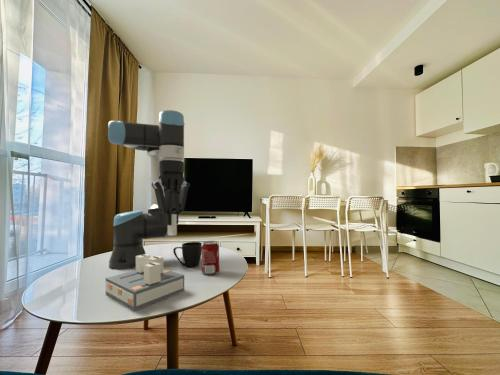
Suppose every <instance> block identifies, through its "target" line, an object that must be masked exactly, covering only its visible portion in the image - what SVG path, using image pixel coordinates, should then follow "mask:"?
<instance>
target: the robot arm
mask: <svg viewBox="0 0 500 375" xmlns="http://www.w3.org/2000/svg"><path fill="white" fill-rule="evenodd" d="M184 118H185V117H184V115H183V113H181V112H180V111H177V110H173V109H170V110H169V109H167V110H162V111H160V112H159V118H158V123H159V125H158V124H150V123H149V124H148V123H139V122H131V121H130V122H129V121H122V120H110V121H109V122H108V124H107V126H108V127H107V137H108V138H107V139H108V141H109V143H110V144H112V145H118V146H123V147H125V148H129V149H132V150H136V151H144V152H145V151H146V152H147V156H148V157H149V158H150V196H151V197H150V198H151V199H150V202H151V203H150V204H151V206H150V207H149V208H148V209H147V213H144V211H143V210H133V211H125V212H121V213H118V214H116V215H115V216H114V217H113V225H112V226H113V249H112V251H111V255H110V257H109V261H108V268H109V269H114V270H122V269H131V268H132V269H133V268H136V256H139V255H141V254H142V255H143V254H147V253H146V250H145V247H144V246H143V244H144V243H143V242H144V241H143V240H148V239H160V238H169V237H175V236H177V234H178V228H177V227H178V224H179V215H181V213H182V212H184V211H185V207H186V206H185V205H186V201H187V197H188V196H187V195H188V193H189V192H188V191H189V188H190V187H191V183H190V182H187V181H186V180H185V177H184V173H185V162H184V160H185V125H186V124H185V119H184Z"/></svg>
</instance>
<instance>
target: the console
mask: <svg viewBox="0 0 500 375" xmlns="http://www.w3.org/2000/svg"><path fill="white" fill-rule="evenodd" d="M182 292H185V274H182V273H179V272H175V271H172V270H169V269H166V268H163V273H161V281H159V282H156V283H153V284H150V285H149V284H146V283H144V272H142V273H139V272H136V269H134V270H131V271H127V272H124V273H119V274H116V275H112V276H108V277H105V296H108V297H110V298H112V299H113V300H115V301H117V302H119V304H122V305H124V306H125V307H127V308H128V309H130V310H132V311H138V310H141V309H143V308H145V307H148V306H150V305H153V304H155V303H157V302H161V301H163V300H166V299H169V298H170V297H173V296H175V295H177V294H180V293H182Z"/></svg>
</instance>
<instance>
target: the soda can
mask: <svg viewBox="0 0 500 375" xmlns="http://www.w3.org/2000/svg"><path fill="white" fill-rule="evenodd" d="M219 272H220V245H219V244H218V241H216V240H205V241H203V242H202V252H201V273H202V274H204V275H205V276H214V275H216V274H218V273H219Z"/></svg>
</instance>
